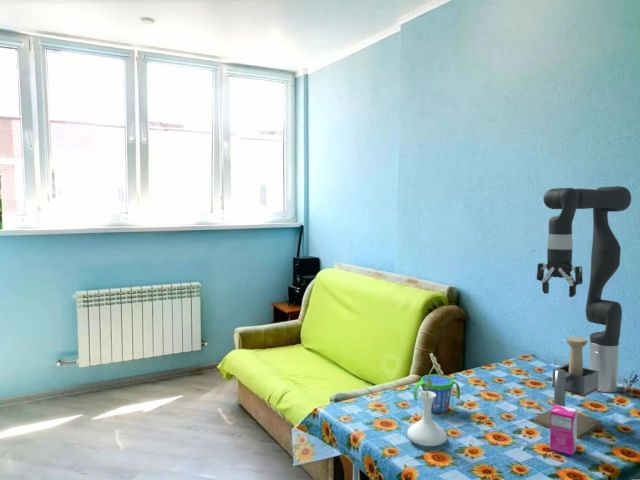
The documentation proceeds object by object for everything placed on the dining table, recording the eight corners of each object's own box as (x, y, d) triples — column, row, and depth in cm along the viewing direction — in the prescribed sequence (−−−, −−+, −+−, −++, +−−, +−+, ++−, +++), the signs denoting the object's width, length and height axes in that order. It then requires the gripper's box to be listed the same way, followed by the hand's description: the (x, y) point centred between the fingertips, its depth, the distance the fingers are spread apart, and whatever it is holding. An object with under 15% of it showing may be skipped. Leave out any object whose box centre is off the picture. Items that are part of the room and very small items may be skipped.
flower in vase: (439, 454, 129) (441, 364, 128) (400, 443, 135) (401, 357, 134) (453, 435, 140) (455, 352, 139) (417, 426, 147) (417, 346, 145)
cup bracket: (559, 408, 159) (560, 356, 158) (604, 423, 148) (606, 366, 147) (533, 422, 149) (534, 366, 148) (579, 439, 138) (581, 378, 137)
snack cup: (416, 415, 154) (416, 385, 153) (410, 402, 164) (410, 374, 164) (464, 416, 154) (465, 385, 153) (455, 402, 164) (456, 374, 164)
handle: (589, 386, 149) (590, 340, 148) (575, 390, 146) (576, 342, 145) (575, 381, 154) (576, 336, 153) (561, 384, 151) (562, 338, 150)
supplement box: (554, 442, 136) (555, 403, 135) (577, 449, 132) (578, 409, 131) (548, 450, 131) (549, 410, 131) (572, 457, 128) (573, 416, 127)
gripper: (587, 248, 156) (585, 296, 157) (544, 245, 168) (543, 291, 169) (576, 249, 152) (575, 299, 153) (533, 246, 163) (532, 293, 164)
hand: (558, 295), depth 161 cm, fingers open, 8 cm apart
